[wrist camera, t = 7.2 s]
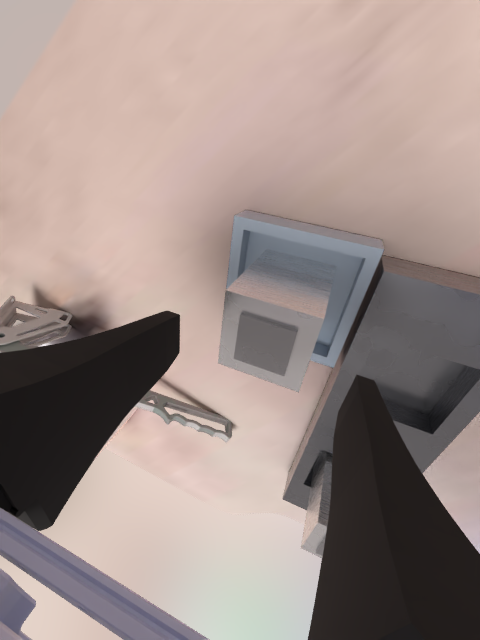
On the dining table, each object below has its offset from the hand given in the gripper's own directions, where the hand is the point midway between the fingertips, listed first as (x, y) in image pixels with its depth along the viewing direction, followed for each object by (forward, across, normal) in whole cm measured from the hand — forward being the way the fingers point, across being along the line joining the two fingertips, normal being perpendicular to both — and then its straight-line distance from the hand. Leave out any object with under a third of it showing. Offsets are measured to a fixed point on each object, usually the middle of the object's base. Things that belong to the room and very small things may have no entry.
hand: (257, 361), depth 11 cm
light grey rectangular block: (+7, 0, 0) cm, 7 cm away
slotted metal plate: (+8, -7, +8) cm, 13 cm away
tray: (+8, 0, 0) cm, 8 cm away
